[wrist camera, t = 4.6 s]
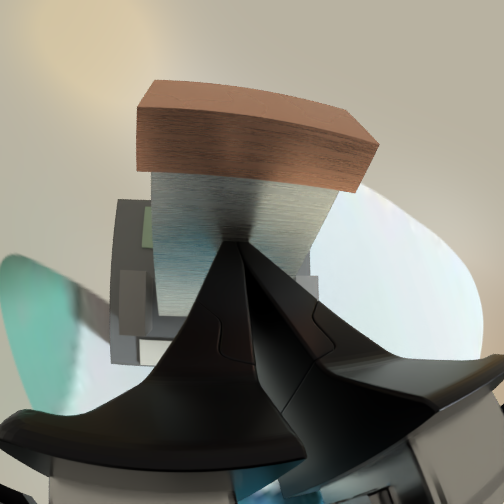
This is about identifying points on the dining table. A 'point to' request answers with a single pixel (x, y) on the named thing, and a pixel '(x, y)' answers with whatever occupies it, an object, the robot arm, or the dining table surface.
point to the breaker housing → (147, 290)
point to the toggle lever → (239, 176)
